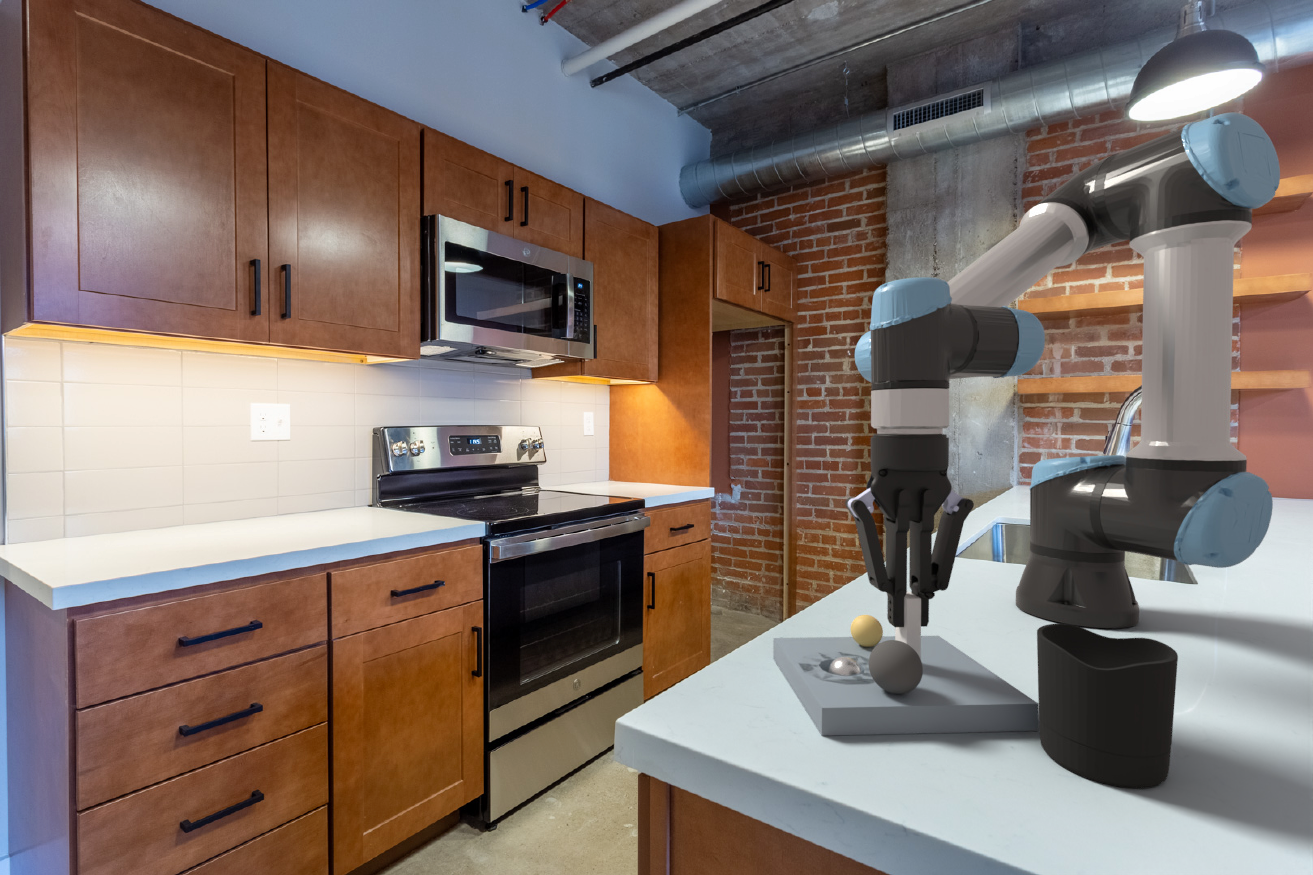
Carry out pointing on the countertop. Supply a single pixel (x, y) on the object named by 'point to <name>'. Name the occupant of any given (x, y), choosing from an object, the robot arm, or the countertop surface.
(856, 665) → the steel ball
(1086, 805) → the countertop surface
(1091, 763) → the pen holder
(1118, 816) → the countertop surface
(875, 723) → the plate
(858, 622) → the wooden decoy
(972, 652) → the countertop surface
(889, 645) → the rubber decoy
